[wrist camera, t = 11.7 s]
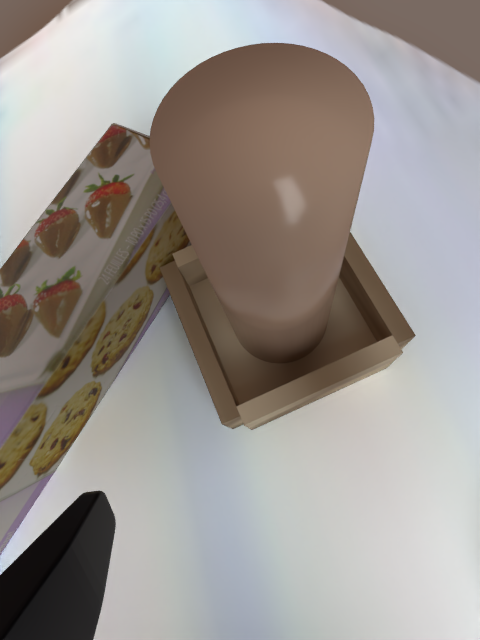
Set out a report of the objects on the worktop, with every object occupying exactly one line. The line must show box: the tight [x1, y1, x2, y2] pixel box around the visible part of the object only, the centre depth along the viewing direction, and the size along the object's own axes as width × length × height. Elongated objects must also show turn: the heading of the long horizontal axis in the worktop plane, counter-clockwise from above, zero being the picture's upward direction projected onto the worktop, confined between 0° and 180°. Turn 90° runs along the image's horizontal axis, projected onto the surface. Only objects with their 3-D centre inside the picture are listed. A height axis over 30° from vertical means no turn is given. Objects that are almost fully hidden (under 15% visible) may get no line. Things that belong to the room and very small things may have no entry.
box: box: [0, 123, 192, 554], centre depth 18 cm, size 27×5×6 cm, turn 150°
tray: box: [159, 232, 416, 430], centre depth 19 cm, size 9×9×3 cm
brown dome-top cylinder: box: [150, 43, 374, 364], centre depth 14 cm, size 5×5×12 cm
